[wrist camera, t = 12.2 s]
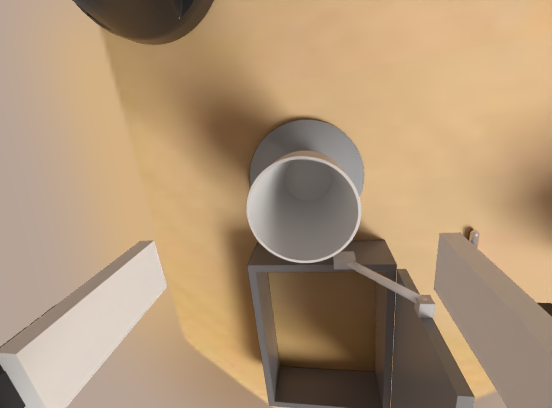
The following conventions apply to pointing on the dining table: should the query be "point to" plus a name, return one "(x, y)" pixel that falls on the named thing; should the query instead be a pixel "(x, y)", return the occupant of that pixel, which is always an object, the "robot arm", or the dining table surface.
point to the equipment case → (407, 341)
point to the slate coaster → (309, 148)
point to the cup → (304, 207)
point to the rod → (474, 237)
